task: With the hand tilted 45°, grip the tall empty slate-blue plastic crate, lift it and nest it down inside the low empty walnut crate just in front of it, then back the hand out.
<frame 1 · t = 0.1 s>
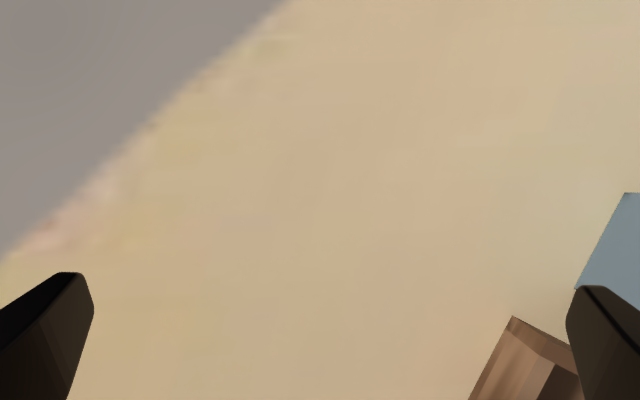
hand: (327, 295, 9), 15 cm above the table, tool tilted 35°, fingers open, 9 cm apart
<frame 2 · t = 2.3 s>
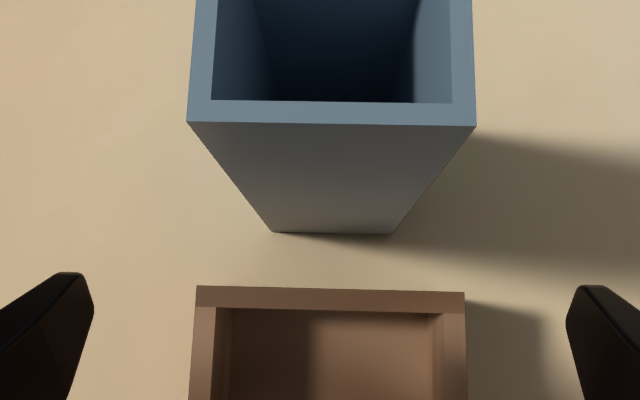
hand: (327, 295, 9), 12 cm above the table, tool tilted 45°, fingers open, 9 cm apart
tall slate-blue crate: (332, 175, 22), on the table
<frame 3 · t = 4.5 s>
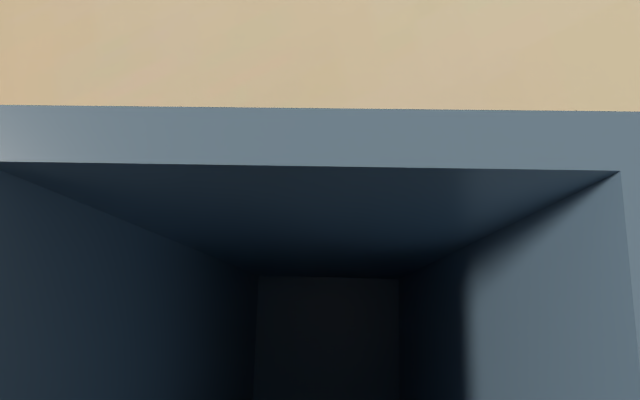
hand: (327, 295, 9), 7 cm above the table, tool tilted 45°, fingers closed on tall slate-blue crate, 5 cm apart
tall slate-blue crate: (327, 348, 16), on the table, touching gripper
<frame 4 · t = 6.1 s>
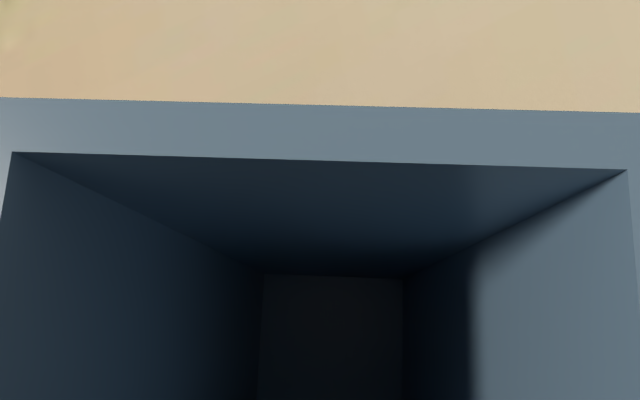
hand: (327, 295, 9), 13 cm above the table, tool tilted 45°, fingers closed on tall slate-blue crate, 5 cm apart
tall slate-blue crate: (331, 346, 16), point 6 cm above the table, touching gripper
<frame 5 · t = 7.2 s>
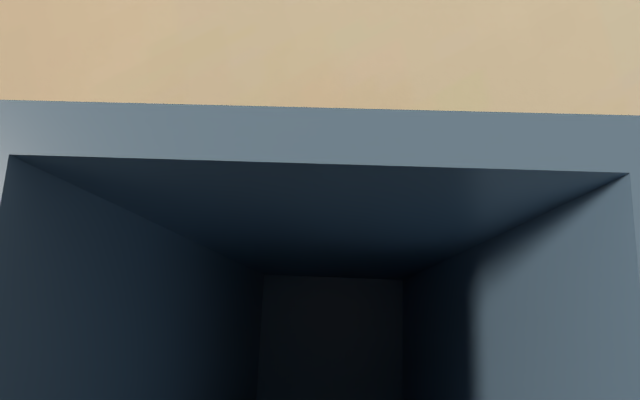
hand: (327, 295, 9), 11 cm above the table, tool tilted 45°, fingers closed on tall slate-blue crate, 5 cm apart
tall slate-blue crate: (331, 347, 16), point 5 cm above the table, touching gripper
when the fingers open (9 cm above the table, at t = 8.1 s): tall slate-blue crate drops 1 cm, resting on walnut crate.
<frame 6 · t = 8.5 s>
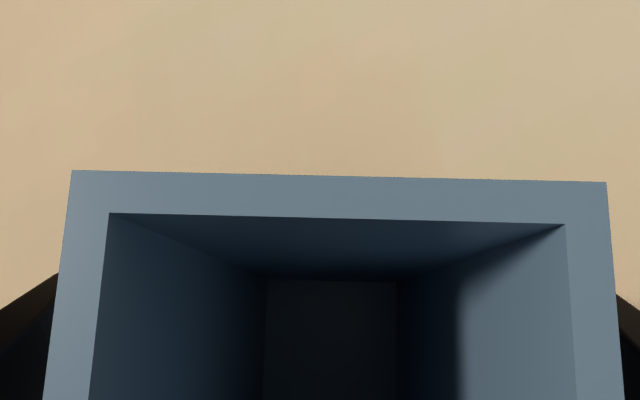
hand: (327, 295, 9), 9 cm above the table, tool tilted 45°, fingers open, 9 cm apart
tall slate-blue crate: (330, 345, 17), point 1 cm above the table, touching walnut crate
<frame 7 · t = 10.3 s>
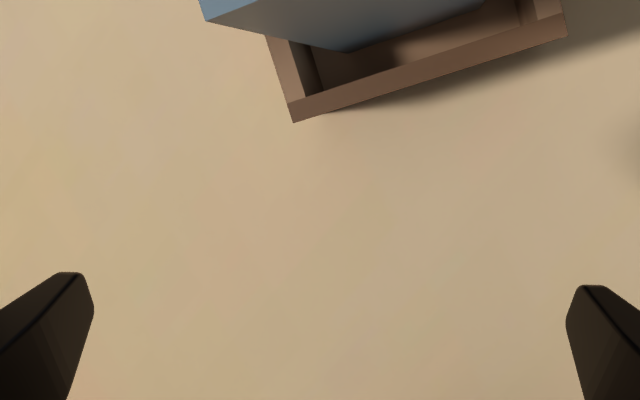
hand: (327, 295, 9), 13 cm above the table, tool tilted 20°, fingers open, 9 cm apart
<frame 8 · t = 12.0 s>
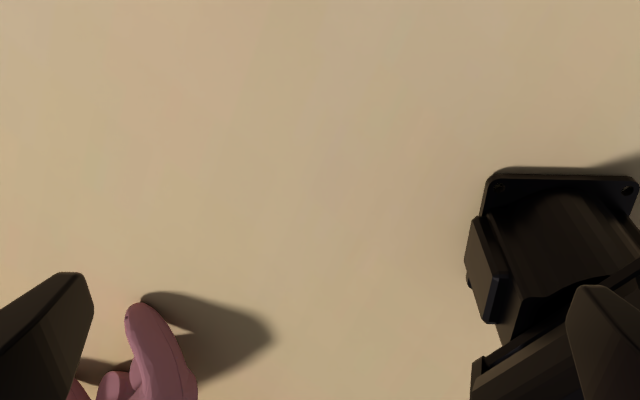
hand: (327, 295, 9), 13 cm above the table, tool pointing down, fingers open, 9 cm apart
video game controller: (132, 354, 31), on the table
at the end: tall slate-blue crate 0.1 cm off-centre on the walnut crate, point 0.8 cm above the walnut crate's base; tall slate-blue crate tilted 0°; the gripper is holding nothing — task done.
